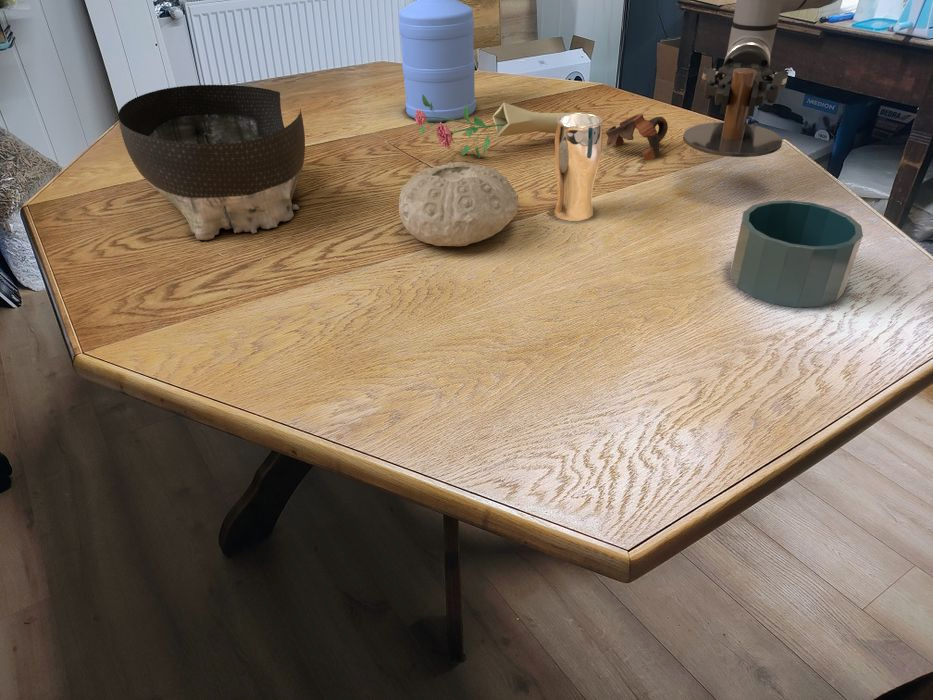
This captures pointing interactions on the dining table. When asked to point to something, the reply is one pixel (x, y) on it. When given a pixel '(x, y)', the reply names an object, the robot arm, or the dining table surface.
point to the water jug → (438, 58)
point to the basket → (217, 154)
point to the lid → (735, 126)
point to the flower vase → (505, 121)
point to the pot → (795, 253)
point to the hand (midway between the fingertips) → (738, 106)
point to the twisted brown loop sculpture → (645, 130)
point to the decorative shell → (457, 204)
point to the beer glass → (576, 163)
